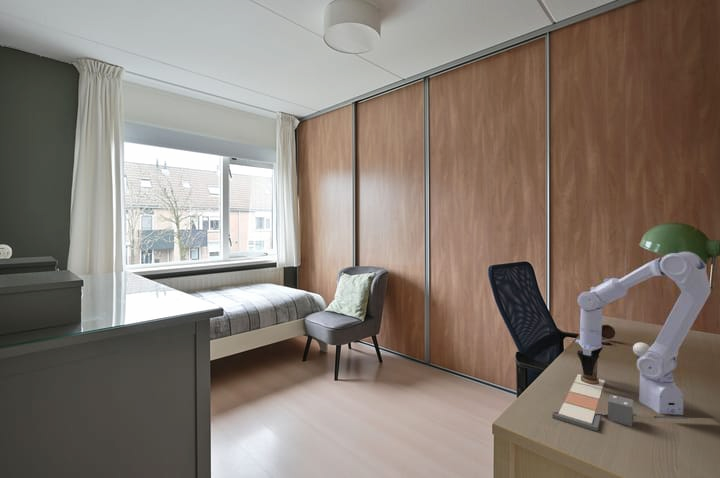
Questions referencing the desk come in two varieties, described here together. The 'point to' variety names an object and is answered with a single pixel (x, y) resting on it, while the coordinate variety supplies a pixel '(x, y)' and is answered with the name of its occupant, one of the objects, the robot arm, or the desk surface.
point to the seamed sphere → (640, 349)
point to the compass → (607, 334)
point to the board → (577, 413)
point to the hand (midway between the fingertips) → (589, 371)
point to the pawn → (591, 377)
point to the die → (620, 410)
